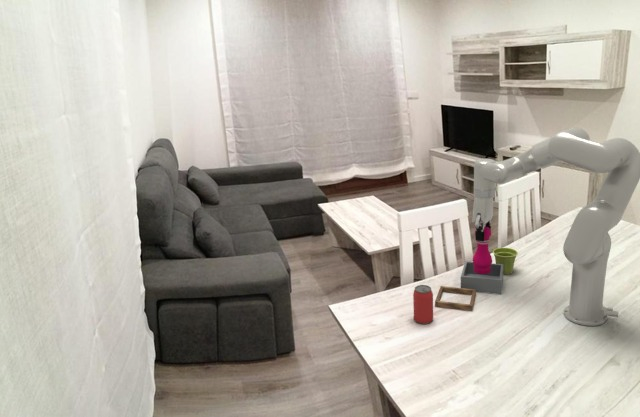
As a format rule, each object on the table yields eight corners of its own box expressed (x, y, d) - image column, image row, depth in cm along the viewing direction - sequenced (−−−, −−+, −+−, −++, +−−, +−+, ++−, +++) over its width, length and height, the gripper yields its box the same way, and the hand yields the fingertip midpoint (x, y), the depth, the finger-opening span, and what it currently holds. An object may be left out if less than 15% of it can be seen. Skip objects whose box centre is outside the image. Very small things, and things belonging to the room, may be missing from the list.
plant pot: (520, 275, 194) (521, 255, 191) (496, 277, 194) (497, 257, 191) (511, 266, 203) (512, 246, 200) (489, 267, 203) (489, 248, 200)
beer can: (422, 326, 163) (421, 294, 160) (409, 318, 169) (409, 287, 165) (437, 320, 166) (437, 289, 163) (424, 312, 172) (424, 282, 168)
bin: (502, 277, 193) (503, 264, 191) (501, 294, 180) (501, 280, 178) (465, 274, 199) (465, 261, 197) (460, 290, 186) (460, 276, 184)
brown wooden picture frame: (475, 294, 182) (475, 289, 181) (472, 311, 170) (472, 306, 170) (440, 290, 187) (440, 285, 186) (434, 306, 175) (434, 301, 175)
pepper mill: (493, 268, 189) (494, 220, 183) (490, 276, 183) (491, 226, 177) (474, 266, 193) (475, 218, 187) (470, 273, 186) (471, 225, 181)
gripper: (482, 185, 187) (481, 229, 192) (465, 197, 174) (464, 243, 180) (502, 187, 183) (500, 232, 188) (486, 199, 170) (484, 247, 175)
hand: (483, 237), depth 184 cm, fingers closed on pepper mill, 6 cm apart
